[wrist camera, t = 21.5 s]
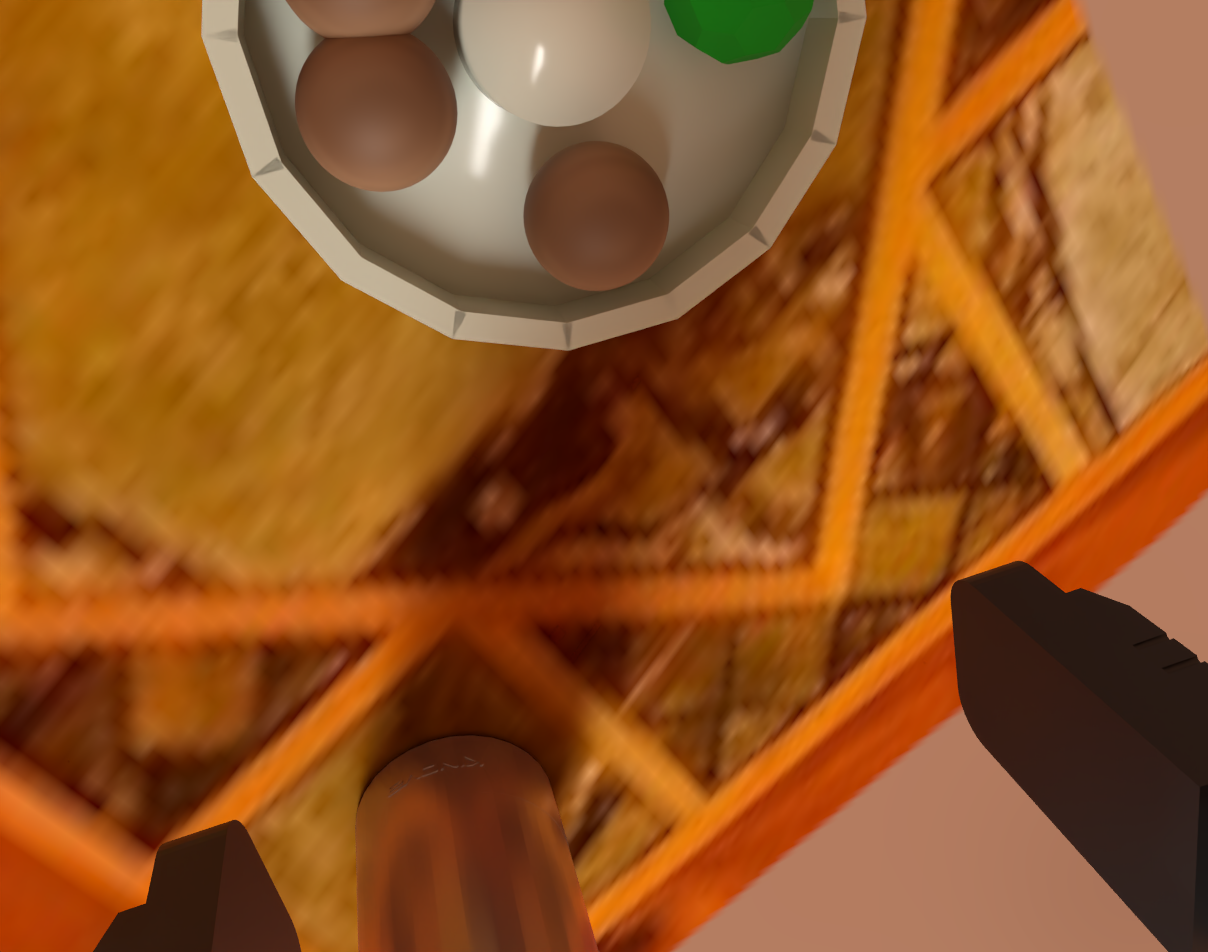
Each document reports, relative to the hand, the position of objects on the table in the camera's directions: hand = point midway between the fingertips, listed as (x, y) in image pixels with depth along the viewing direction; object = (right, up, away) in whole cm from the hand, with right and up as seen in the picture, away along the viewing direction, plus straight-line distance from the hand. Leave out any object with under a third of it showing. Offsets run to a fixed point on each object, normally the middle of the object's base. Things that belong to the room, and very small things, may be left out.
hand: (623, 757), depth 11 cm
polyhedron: (+4, +20, +25) cm, 32 cm away
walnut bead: (-1, +13, +27) cm, 30 cm away
